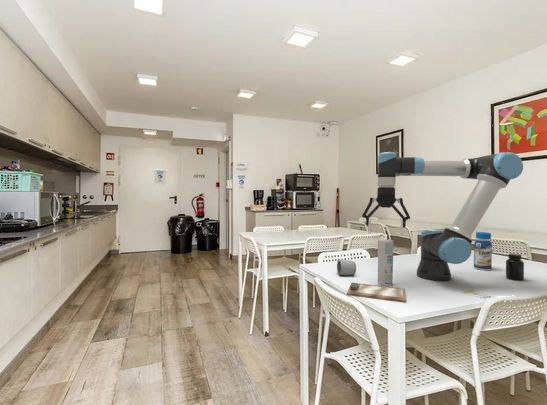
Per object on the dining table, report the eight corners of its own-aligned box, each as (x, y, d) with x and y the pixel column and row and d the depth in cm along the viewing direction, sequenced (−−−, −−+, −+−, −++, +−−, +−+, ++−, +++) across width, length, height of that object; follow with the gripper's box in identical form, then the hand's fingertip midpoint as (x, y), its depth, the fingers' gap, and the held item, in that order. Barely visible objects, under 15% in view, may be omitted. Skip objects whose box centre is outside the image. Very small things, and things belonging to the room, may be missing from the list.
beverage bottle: (485, 267, 166) (486, 231, 165) (495, 271, 157) (496, 233, 157) (470, 266, 166) (470, 231, 166) (478, 270, 158) (479, 233, 157)
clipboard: (404, 290, 125) (404, 285, 125) (406, 302, 111) (406, 296, 111) (351, 284, 133) (351, 279, 133) (346, 294, 119) (346, 289, 119)
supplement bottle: (519, 277, 145) (520, 253, 144) (526, 281, 138) (527, 256, 138) (503, 276, 147) (503, 252, 147) (509, 280, 141) (509, 255, 140)
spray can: (387, 287, 129) (388, 241, 129) (374, 283, 135) (375, 239, 134) (395, 284, 133) (396, 240, 133) (382, 281, 139) (383, 238, 138)
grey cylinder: (356, 276, 145) (357, 261, 145) (340, 277, 145) (340, 261, 145) (349, 271, 156) (349, 257, 156) (334, 271, 155) (334, 257, 155)
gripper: (416, 187, 131) (415, 234, 132) (358, 187, 141) (357, 231, 141) (417, 186, 124) (416, 236, 125) (356, 186, 134) (355, 233, 134)
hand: (385, 234), depth 133 cm, fingers open, 13 cm apart
